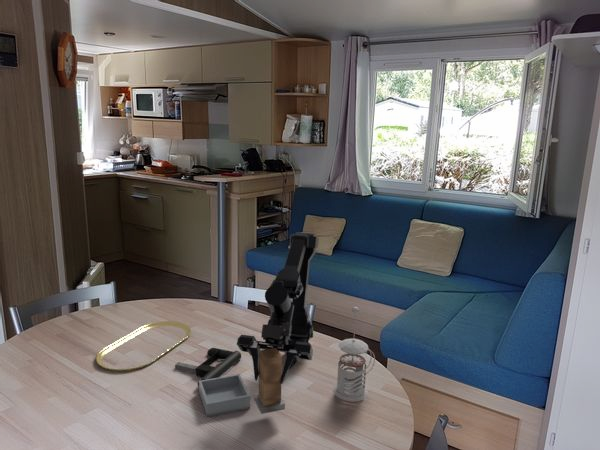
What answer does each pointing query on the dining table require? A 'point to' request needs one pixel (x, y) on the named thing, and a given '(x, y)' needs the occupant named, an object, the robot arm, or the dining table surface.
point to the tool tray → (224, 395)
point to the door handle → (209, 371)
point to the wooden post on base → (269, 381)
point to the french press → (349, 381)
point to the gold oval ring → (134, 334)
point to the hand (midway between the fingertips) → (268, 381)
